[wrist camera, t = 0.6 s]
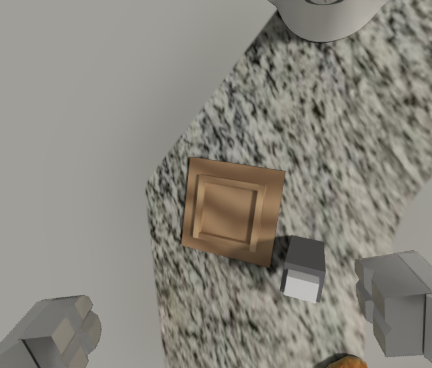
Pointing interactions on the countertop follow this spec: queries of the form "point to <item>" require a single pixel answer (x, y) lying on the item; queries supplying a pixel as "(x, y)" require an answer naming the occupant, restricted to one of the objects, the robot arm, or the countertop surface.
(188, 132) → the countertop surface
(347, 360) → the pastry
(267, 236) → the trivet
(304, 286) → the capped dark pillar
